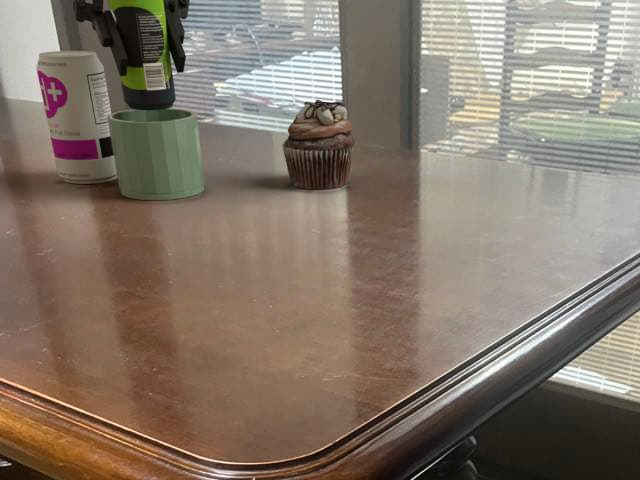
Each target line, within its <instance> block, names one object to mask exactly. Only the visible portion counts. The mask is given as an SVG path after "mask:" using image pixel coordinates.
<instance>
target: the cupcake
mask: <svg viewBox="0 0 640 480" xmlns="http://www.w3.org/2000/svg"><path fill="white" fill-rule="evenodd" d="M303 104H304V105H303V107H302V108H301V109H300V110H299V111H298V113H296V114H295V118H294V119H293V121H292V123H291V124H289V126H288V128H287V133H288V134H289V135H288V136H287V138H286V139H285V141H283V143H282V144H281V146H282V151H283V156H284V159H285V163H286V168H287V174H288V177H289V181H290V185H292V186H293V187H296V188H299V189H305V190H332V189H339V188H342V187H344V186H346V185H348V183H349V179H350V173H351V167H352V158H353V154H354V150H355V144H356V140H355V138H354V135H353V134H352V131H354V130H353V125H352V123H351V122H350V121H349V120H348V110H347V108H346V107H345V106H346V105H345V103H344V102H341V101H333V102H332V101H331V102H330V101H322V100H320V99H316V100H315V101H314V102H311V101H304V103H303Z"/></svg>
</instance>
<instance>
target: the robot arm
mask: <svg viewBox="0 0 640 480" xmlns="http://www.w3.org/2000/svg"><path fill="white" fill-rule="evenodd" d="M163 2H164V10H165V18H166V26H167V34H168V42H169V49H170V57H171V60H172V62H173V64H174V67H175V70H176V73H178V74H180V73H183V74H184V73H185V72H184V71H185V67H186V66H185V65H186V59H187V55H186V52H185V49H184V47H183V45H184V42H185V41H184V40H185V35H186V31H185V28H184V25H183V22H182V20H186V19H187V18H188V16H189V9H190V3H191V0H163ZM70 4H71V8H72V12H73V16H74V19H75V21H77V22H79V23H84V22H85V21H87V22H90V23H91V28H92V30H94V31H95V32H96V35H97V37H98V40H99V44H100V45H101V46H102V48H110V50H111V54H112V57H113V60H114V63H115V66H116V68H117V72H118V74H119V77H120V76H126V75H127V62H128V59H127V56H126V53H125V50H124V47H123V44H122V41H121V38H120V35H119V33H118V30H117V27H116V24H115V21H114V18H113V15H112V13H111V10H110V9H108V10H107V9H105V10H104V0H91V3H90V2H87V1H86V0H70Z"/></svg>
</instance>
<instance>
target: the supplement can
mask: <svg viewBox="0 0 640 480" xmlns="http://www.w3.org/2000/svg"><path fill="white" fill-rule="evenodd" d="M97 55H98V54H97V53H96V52H95V51H91V50H90V51H89V50H57V51H46V52H40V53H38V59H37V64H36V74H37V78H38V84H39V88H40V93H41V98H42V103H43V107H44V112H45V117H46V122H47V127H48V132H49V136H50V141H51V146H52V152H53V156H54V160H55V165H56V171H57V175H58V176H59V177H60V178H62V179H63V181H64V182H67V183H70V184H76V185H77V184H78V185H89V184H90V185H91V184H103V183H106V182H107V183H108V182H111V181H113V180H116V179H118V178H117V172H116V166H115V160H114V154H113V148H112V142H111V136H110V130H109V124H108V119H107V117H108V115H110V114H112V109H111V103H110V97H109V92H108V85H107V80H106V73H105V68H104V67H105V66H104V65H103V63H102V61H101V60H100V58H99V57H98V56H97Z"/></svg>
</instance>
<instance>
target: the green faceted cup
mask: <svg viewBox="0 0 640 480" xmlns="http://www.w3.org/2000/svg"><path fill="white" fill-rule="evenodd" d="M107 119H108V124H109V130H110V136H111V142H112V148H113V154H114V160H115V166H116V172H117V178H116V179H117V183H118V188H119V193H120V194H121V196H123V197H124V198H129V199H133V200H139V201H171V200H172V201H173V200H180V199H185V198H191V197H194V196H197V195H199V194H201V193H203V192H204V191H205V189H206V187H205V175H204V166H203V159H202V151H201V150H202V149H201V142H200V134H199V133H200V132H199V124H198V115H197V113H196V112H195V111H192V110H190V109H183V108H174V107H171V108H168V109H162V110H135V109H126V110H119V111H116V112H111V114H110V115H108V117H107Z"/></svg>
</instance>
